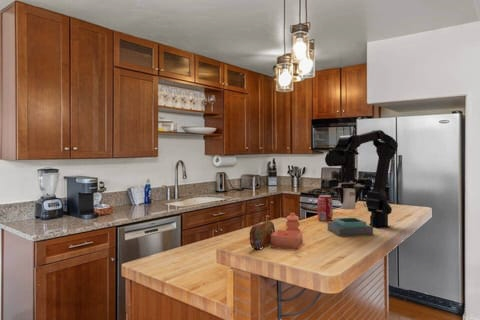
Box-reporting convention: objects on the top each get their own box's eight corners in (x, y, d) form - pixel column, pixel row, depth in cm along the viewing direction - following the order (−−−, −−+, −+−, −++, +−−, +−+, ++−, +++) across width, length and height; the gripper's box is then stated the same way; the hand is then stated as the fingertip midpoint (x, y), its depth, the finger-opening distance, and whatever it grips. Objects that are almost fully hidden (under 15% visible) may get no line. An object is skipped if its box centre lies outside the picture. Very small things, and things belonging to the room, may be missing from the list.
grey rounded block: (351, 207, 141) (351, 188, 141) (359, 209, 134) (359, 190, 134) (339, 207, 141) (339, 188, 140) (346, 210, 133) (346, 190, 133)
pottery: (297, 249, 114) (297, 221, 114) (270, 247, 118) (270, 219, 118) (306, 237, 131) (306, 212, 131) (283, 235, 135) (283, 211, 134)
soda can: (331, 218, 167) (331, 194, 167) (333, 221, 160) (333, 196, 160) (316, 218, 168) (316, 194, 167) (318, 221, 160) (318, 196, 160)
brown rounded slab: (256, 252, 112) (255, 227, 111) (247, 250, 113) (247, 226, 113) (275, 241, 124) (275, 219, 124) (268, 240, 126) (268, 218, 126)
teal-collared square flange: (358, 228, 145) (358, 216, 145) (373, 234, 133) (373, 222, 133) (327, 229, 143) (327, 218, 143) (339, 236, 131) (339, 223, 131)
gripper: (360, 164, 147) (360, 200, 147) (319, 165, 145) (319, 201, 145) (373, 165, 136) (373, 203, 136) (329, 166, 134) (329, 205, 134)
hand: (348, 203), depth 138 cm, fingers closed on grey rounded block, 5 cm apart
